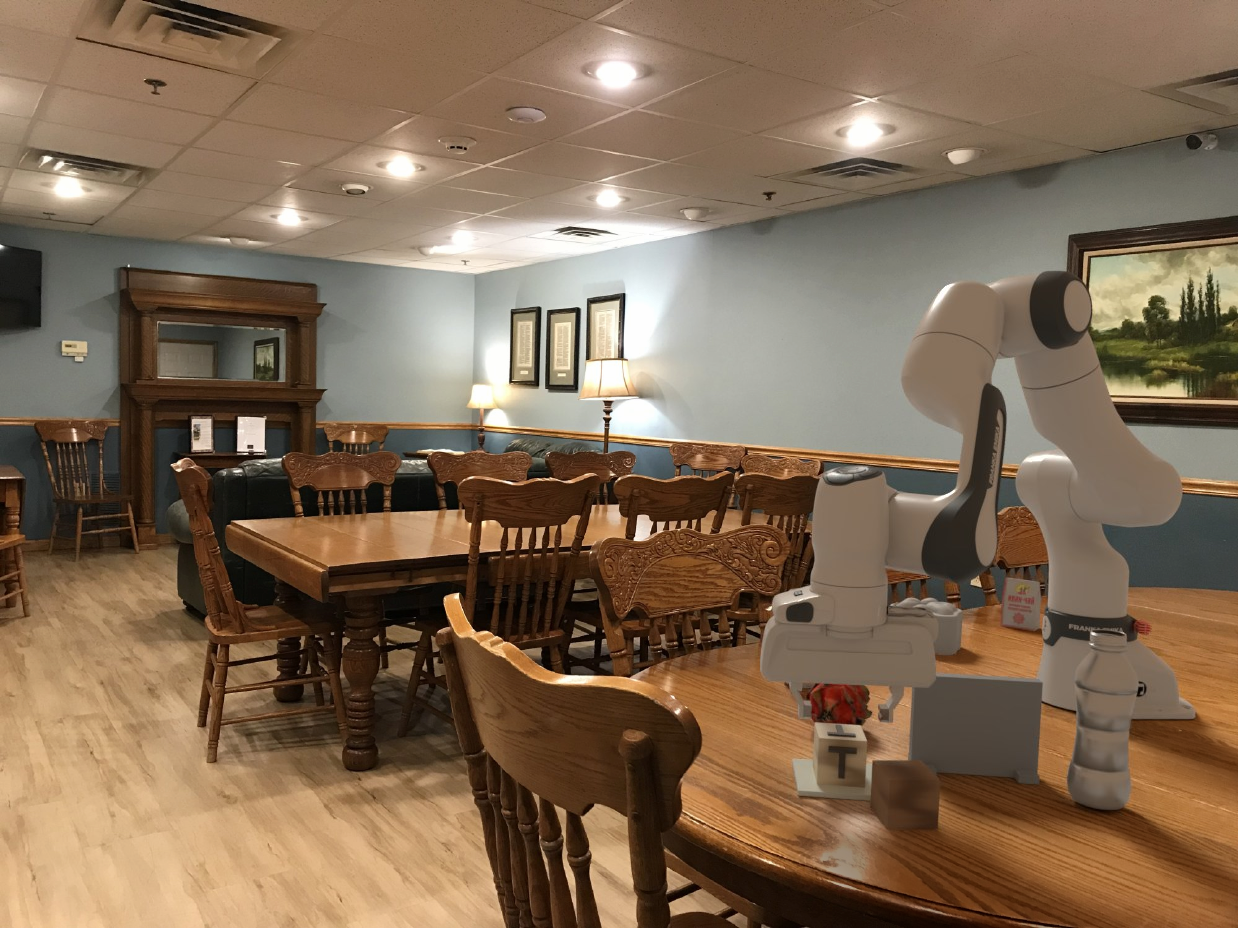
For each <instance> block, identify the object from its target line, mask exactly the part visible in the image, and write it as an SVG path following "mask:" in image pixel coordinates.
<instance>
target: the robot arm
mask: <svg viewBox="0 0 1238 928" xmlns="http://www.w3.org/2000/svg"><path fill="white" fill-rule="evenodd" d="M1092 319H1093V302H1092V296H1091V293H1090V290H1089V288H1088V286H1087V285H1086V283H1085V282H1084V281H1083V280H1082V279H1081V278H1079V276H1077V275H1075V273H1073V272H1072V271H1071V272H1070V271H1066V270H1046V271H1042V272H1041V273H1034V274H1022V275H1016V276H1010V277H1004V278H1000V279H998V280H996V281H993V282H987V283H982V282H979V281H975V280H957V281H953V282H951V283H950V284H947V285H945V286H944V287H943V288H942V289H940V290H939V292H937V294H936V295H935V297H934V298H933V300H932V301H931V303H930V304H929V306H928V308H927V309H926V310H925V313H924V315H923V316H922V317H921V320H920V322H919V324H918V326H917V328H916V330H915V332H914V334H913V337H912V339H911V341H910V344H909V347H908V350H907V352H906V355H905V357H904V361H903V364H902V368H901V375H900V377H901V378H900V383H901V386H902V389H903V392H904V394H905V396H906V398H907V400H908V401H909V403H910V404H911V405H912V406H913V407H914V409H916V410H917V411H918V412H919V413H921V414H922V415H923V416H925V418H927V419H929V420H931V421H933V422H935V423H937V424H939V425H941V426H945V427H946V428H949V429H951V430H953V431H954V432H957V433H959V434H960V435H962V442H961V451H960V457H959V464H958V465H959V467H958V471H957V478H956V486H955V488H954V489H953V490H952V491H950V492H947V493H945V494H942V495H933V494H922V493H910V492H905V491H898V490H897V489H895V488H893V487H891V486H890V485H888V484H887V479H886V474H885V472H884V471H883V470H882V469H880V468H878V467H875V466H870V465H849V466H839V467H835V468H832V469H829V470H827V471H826V472H824V473H823V474H822V475H821V476H820V477H819V481H818V483H817V486H816V487H817V488H816V490H815V497H814V502H813V511H812V519H811V520H812V522H811V523H812V525H811V545H812V549H813V554H814V561H813V562H814V563H813V568H812V569H811V573H810V584H809V585H806V586H802V587H800V588H799V589H797V588H794V589H795V590H791V589H790V590H791V591H789V590H788V591H785V592H781V593H778V594H776V595H774V597H773V599H772V603H771V605H772V606H771V607H772V613H773V615H772V616H771V617H770V618H769V619H768V620H767V622H766V625H765V627H764V631H763V636H762V641H761V649H760V650H761V651H760V660H759V661H760V663H759V665H760V666H759V667H760V668H759V669H760V671H759V672H760V673H761V675H762V677H763V678H764V679H765V680H766V681H768V682H782V683H786V682H789V685H788V686H789V691H790V693H791V694H792V696H793V698H794V699H795V702H796V704H797V716H798V717H797V718H798V719H800V720H801V719H802V720H803V719H804V720H812V719H811V711H812V705H811V701H805V699H803V696H802V695H801V693H800V692H802V691H803V688H802V685H803V683H823V684H847V685H864V686H870V687H871V686H872V687H873V686H876V687H888V690H889V692H890V695H889V697H888V699H887V700H886V701H885V703H878V706H877V708H878V713H877V719H878V721H879V723H887V724H893V723H894V710H895V709H896V707H898V705H899V704H900V703H901V701H902V699H903V698H904V695H905V688H912V687H918V688H929V687H930V686H931V685H932V684H933V683H934V682H935V680H936V673H937V664H936V662H937V661H936V654H935V651H934V645H933V644H934V643H935V641H936V640H937V637H938V625H939V624H938V620H937V618H936V616H935V615H934V614H933V613H931V612H929V611H926V608H923V607H914V608H911V607H908V608H907V607H902V606H890V605H888V590H889V589H888V585H889V584H888V583H889V581H888V579H889V577H888V575H887V570H886V569H889V570H892V571H898V572H903V573H910V574H916V575H922V576H928V577H930V578H934V579H936V580H941V581H945V582H949V583H953V584H958V585H965V584H967V583H969V582H971V581H973V580H975V579H977V578H978V577H979V576H981V575H982V574H984V572H986V571H987V570H988V569H989V568H990V567H992V565H993V564H994V562H995V558H996V554H997V550H998V540H999V535H998V534H999V521H998V520H999V517H998V515H999V514H998V512H999V511H998V508H999V499H1000V491H1001V481H1002V473H1003V467H1004V466H1003V465H1004V456H1005V448H1006V446H1005V445H1006V435H1007V421H1008V419H1007V418H1008V417H1007V415H1008V414H1007V405H1006V402H1005V401H1006V400H1005V397H1004V395H1003V393H1002V391H1001V390H1000V389H999V387H997V386H995V385H993V381H992V378H993V372H994V370H995V369H994V368H995V366H996V363H997V360H1002V359H1004V360H1005V359H1010V358H1011V359H1012V358H1013V359H1014V363H1015V369H1016V374H1017V377H1018V379H1019V383H1020V387H1021V389H1022V393H1023V396H1024V400H1025V402H1026V405H1027V409H1028V412H1029V415H1030V418H1031V421H1032V425H1033V426H1034V428H1035V430H1036V431H1037V432H1038V434H1039V435H1041V437H1042V438H1044V439H1045V440H1046V441H1049V442H1050V443H1051V444H1054V446H1056V447H1057V449H1056V448H1055V449H1049V450H1043V451H1038V452H1033V453H1031V454H1029V455H1027V456H1026V457H1025V458H1024V459H1023V460H1022V462H1021V463H1020V465H1019V467H1018V469H1017V471H1016V472H1017V473H1016V476H1015V489H1016V490H1015V491H1016V493H1017V496H1018V499H1019V500H1020V502H1021V503H1022V504H1023V505H1024V506H1025V508H1027V509H1028V510H1029V512H1031V514H1032V515H1033V517H1034V519H1035V521H1036V522H1037V524H1038V527H1039V529H1040V532H1041V533H1042V536H1043V539H1044V543H1045V546H1046V551H1047V558H1048V593H1047V594H1048V595H1047V605H1045V606H1044V611H1043V616H1042V627H1041V632H1042V633H1041V634H1042V641H1043V647H1042V653H1041V658H1040V663H1039V667H1038V670H1037V673H1036V678H1035V679H1039V680H1040V681H1042V682H1043V688H1042V702H1044V703H1047V704H1049V705H1052V706H1055V707H1058V708H1063V709H1065V710H1070V711H1074V712H1076V709H1077V706H1076V694H1075V683H1074V674H1075V672H1076V669H1077V667H1078V666H1079V664H1080V663H1081V662H1082V661H1083V659H1084V658H1085V657H1086V656H1087V655H1088V654H1089V653H1090V652H1091V649H1092V648H1090V647H1089V642H1090V632H1091V630H1093V629H1106V630H1114V631H1119V632H1122V633H1125V634H1126V636H1127V643H1126V646H1127V652H1124V656H1125V658H1126V659H1127V660H1128V662H1129V663H1130V664H1131V666H1132V668H1133V669H1134V671H1135V673H1136V675H1137V678H1138V683H1139V685H1138V691H1137V695H1136V699H1135V704H1134V708H1133V712H1132V717H1131V720H1193V719H1195V718H1196V710H1195V707H1194V706H1193V705H1192V703H1190V702H1188V700H1186V699H1185V698H1183V697H1181V696H1180V691H1179V685H1178V679H1177V675H1176V673H1175V671H1174V670H1173V669H1172V667H1171V666H1170V665H1169V664H1168V663H1166V662H1165V661H1164V660H1163V659H1162V658H1160V657H1159V656H1158V655H1157V654H1156V653H1154V651H1152V650H1151V649H1150V648H1149V647H1148V646H1146V645H1145V644H1144V643H1143V642H1141V640H1139V639H1138V634H1140V635H1142V636H1148V635H1150V633H1152V631H1153V627H1152V625H1151V624H1150V623H1149V622H1147V621H1145V620H1144V619H1143V620H1142V619H1136V618H1135V617H1134V616H1131V615H1130V614H1128V613H1127V612H1128V611H1127V610H1128V597H1129V596H1128V595H1129V583H1130V582H1129V581H1130V568H1129V564H1128V562H1127V560H1126V559H1125V558H1124V556H1123V555H1121V553H1120V552H1119V551H1117V550H1116V549H1115V548H1114V547H1113V546H1112V545H1111V544H1110V543H1109V541H1108V539H1107V537H1106V535H1105V533H1104V529H1103V525H1104V524H1105V525H1109V526H1117V527H1123V528H1124V527H1125V528H1136V527H1137V528H1138V527H1139V528H1140V527H1150V526H1151V527H1154V526H1161V525H1163V524H1165V523H1167V522H1168V521H1170V519H1171V518H1173V516H1174V515H1175V514H1176V512H1177V511H1178V509H1179V508H1180V506H1181V502H1182V499H1183V483H1182V479H1181V477H1180V475H1179V473H1178V471H1177V469H1176V468H1175V467H1174V466H1173V465H1172V464H1171V463H1170V462H1168V461H1166V460H1165V459H1162V458H1161V457H1159V456H1158V455H1157V454H1155V453H1153V452H1152V451H1151V450H1149V449H1148V448H1147V447H1146V446H1145V445H1144V444H1143V443H1142V442H1141V441H1140V440H1139V438H1137V437H1136V436H1135V435H1134V433H1133V432H1132V431H1131V430H1130V429H1129V427H1128V426H1127V424H1126V423H1125V422H1124V421H1123V419H1122V417H1121V415H1120V414H1119V413H1118V411H1117V409H1116V406H1115V405H1114V401H1113V400H1112V397H1111V395H1110V394H1111V393H1110V391H1109V388H1108V386H1107V382H1106V380H1105V377H1104V373H1103V370H1102V366H1101V362H1100V360H1099V357H1098V354H1097V350H1096V347H1095V346H1094V342H1093V340H1092V337H1091V335H1090V333H1089V331H1088V330H1089V328H1090V326H1091V323H1092ZM1102 524H1103V525H1102ZM926 614H928V615H930V616H926ZM907 615H908V616H907Z"/></svg>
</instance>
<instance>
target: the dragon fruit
mask: <svg viewBox="0 0 1238 928" xmlns="http://www.w3.org/2000/svg"><path fill="white" fill-rule="evenodd" d="M870 695H871V693H870V690H869V688H868V687H867V685H847V684H823V683H814V684H813V686H812V688H809V691H808V692H807V693H806V696H805V699H804V700H805V701H811V705H812V711H811V719H810V720H812V721H813V723H815V722H817V723H832V724H848V725H861V727H863V725H864V724H865V723H866V720H868V719H870V718H871V717H872V716H873V711H872V710H871V709H870V710H869V709H868V708H869V705H868V704H869V702H870V700H871V697H870Z"/></svg>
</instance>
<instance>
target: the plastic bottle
mask: <svg viewBox="0 0 1238 928" xmlns="http://www.w3.org/2000/svg"><path fill="white" fill-rule="evenodd" d="M1126 643H1127V636H1126V634H1125V633H1122V632H1119V631H1114V630H1106V629H1093V630H1091V632H1090V642H1089V647H1090V648H1092V649H1091V652H1090V653H1089V654H1088V655H1087V656H1086V657H1085V658H1084V659H1083V661H1082V662H1081V663H1080V664H1079V666H1078V667H1077V669H1076V672H1075V674H1074V683H1075V694H1076V706H1077V709H1076V711H1075V712H1076V717H1075V718H1076V725H1075V731H1076V732H1075V737H1074V743H1073V749H1072V754H1071V759H1070V762H1069V764H1068V768H1067V771H1066V772H1067V773H1066V776H1065V777H1066V785H1067V787H1066V788H1067V791H1068V793H1069V795H1070V797H1071V798H1072V799H1073V801H1075V802H1076V803H1077V804H1080V805H1083V806H1085V807H1088V808H1091V809H1097V810H1102V811H1103V810H1104V811H1116V810H1120V809H1122V808H1124V807H1125V806H1126V804H1127V803H1129V800H1130V796H1131V793H1132V776H1131V772H1130V769H1129V768H1130V765H1129V764H1130V763H1129V762H1130V760H1129V759H1130V757H1129V752H1130V751H1129V749H1130V748H1129V738H1130V729H1131V722H1132V719H1131V717H1132V712H1133V708H1134V704H1135V699H1136V695H1137V691H1138V685H1139V683H1138V678H1137V675H1136V673H1135V671H1134V669H1133V668H1132V666H1131V664H1130V663H1129V662H1128V660H1127V659H1126V658H1125V656H1124V652H1127V646H1126Z"/></svg>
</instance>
